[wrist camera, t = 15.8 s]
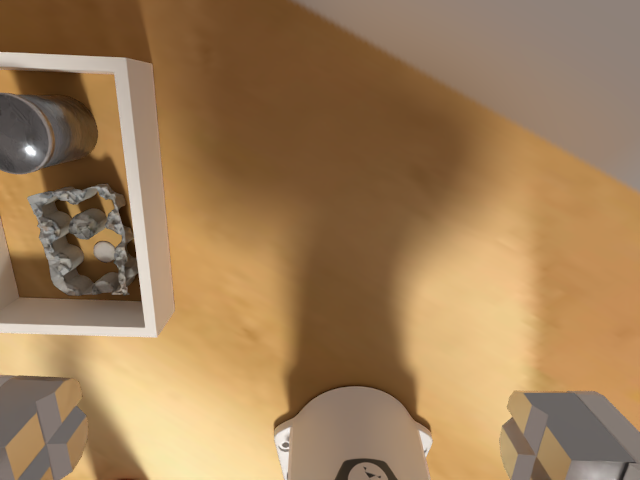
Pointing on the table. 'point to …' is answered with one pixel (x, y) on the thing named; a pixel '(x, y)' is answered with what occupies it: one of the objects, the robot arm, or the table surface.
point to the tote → (146, 209)
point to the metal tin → (43, 131)
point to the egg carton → (83, 227)
